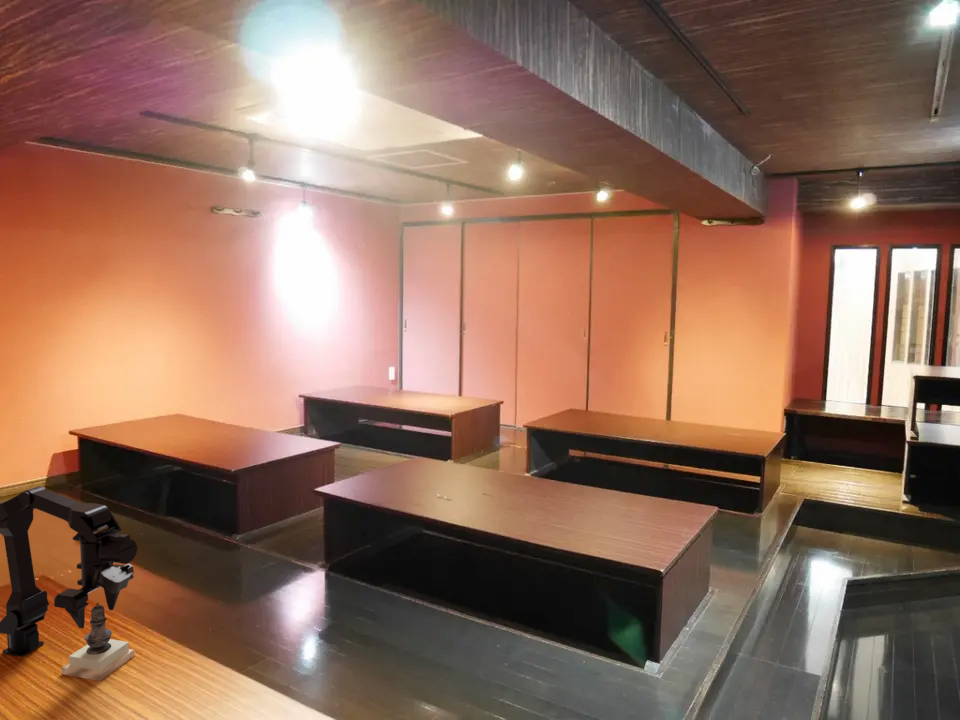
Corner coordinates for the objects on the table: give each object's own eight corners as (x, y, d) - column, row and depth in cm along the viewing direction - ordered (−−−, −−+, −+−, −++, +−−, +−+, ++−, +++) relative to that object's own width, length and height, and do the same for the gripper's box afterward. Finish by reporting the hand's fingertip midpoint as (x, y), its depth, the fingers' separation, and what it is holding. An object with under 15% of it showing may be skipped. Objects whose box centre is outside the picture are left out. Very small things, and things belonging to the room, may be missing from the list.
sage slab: (69, 665, 155) (69, 656, 155) (99, 646, 164) (98, 637, 164) (100, 671, 153) (100, 661, 153) (128, 651, 162) (128, 642, 162)
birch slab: (61, 677, 154) (61, 667, 154) (98, 652, 165) (97, 643, 165) (100, 684, 152) (100, 674, 152) (134, 658, 163) (134, 649, 163)
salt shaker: (100, 656, 155) (99, 609, 154) (79, 653, 156) (77, 607, 155) (118, 643, 161) (116, 598, 159) (97, 641, 162) (96, 595, 160)
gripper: (91, 578, 145) (94, 642, 147) (150, 547, 163) (152, 605, 165) (50, 572, 147) (53, 636, 149) (113, 542, 166) (115, 599, 167)
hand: (96, 618), depth 157 cm, fingers open, 9 cm apart
